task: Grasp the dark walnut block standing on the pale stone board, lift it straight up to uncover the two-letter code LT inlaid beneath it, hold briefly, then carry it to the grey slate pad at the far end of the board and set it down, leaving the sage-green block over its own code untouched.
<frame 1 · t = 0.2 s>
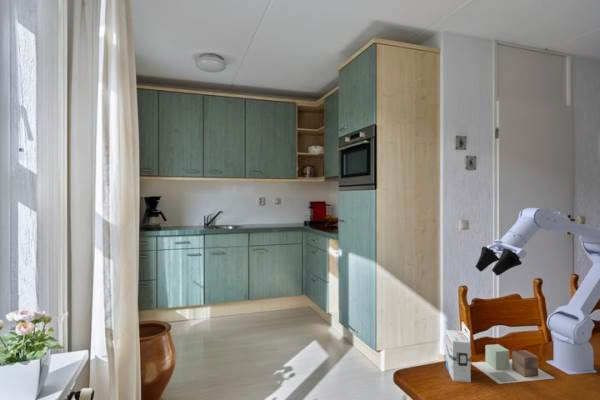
hand: (486, 271, 97), 31 cm above the table, tool tilted 45°, fingers open, 7 cm apart
ink box: (457, 376, 97), on the table
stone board: (510, 371, 99), on the table
sage block: (497, 365, 101), resting on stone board
walnut block: (524, 372, 97), resting on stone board
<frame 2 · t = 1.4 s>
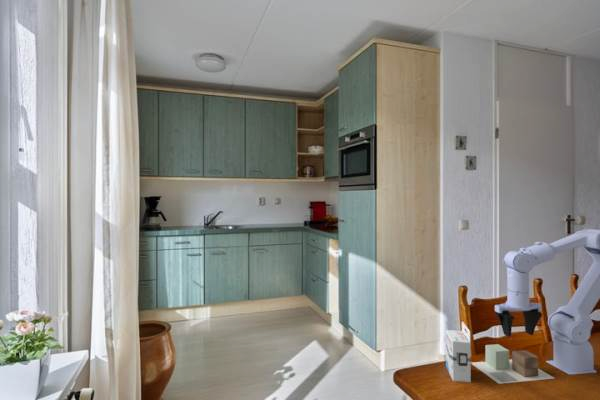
hand: (518, 334, 102), 10 cm above the table, tool pointing down, fingers open, 7 cm apart
nothing on the table moved.
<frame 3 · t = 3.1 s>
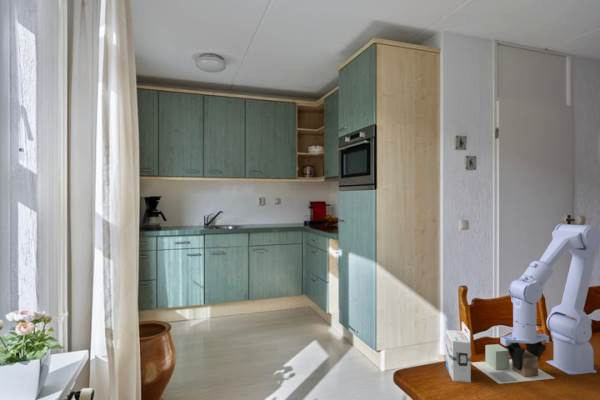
hand: (524, 367, 97), 2 cm above the table, tool pointing down, fingers closed on walnut block, 4 cm apart
walnut block: (524, 372, 97), resting on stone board, touching gripper
everything else where it was.
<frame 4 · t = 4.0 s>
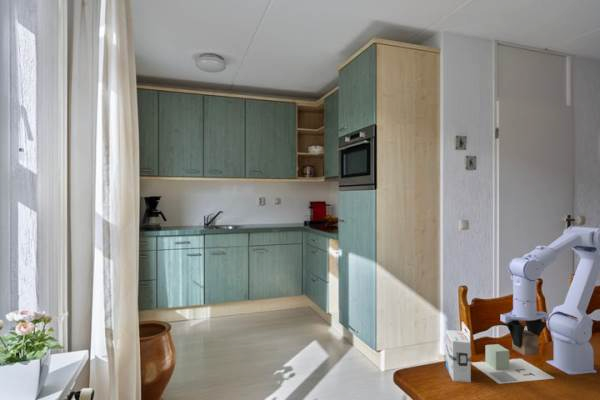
hand: (524, 345, 97), 9 cm above the table, tool pointing down, fingers closed on walnut block, 4 cm apart
walnut block: (524, 351, 97), point 7 cm above the table, touching gripper
everything else where it was.
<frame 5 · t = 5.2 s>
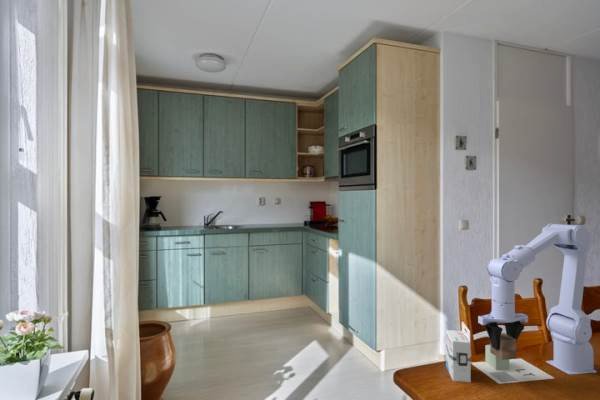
hand: (503, 347, 95), 9 cm above the table, tool pointing down, fingers closed on walnut block, 4 cm apart
walnut block: (502, 355, 95), point 6 cm above the table, touching gripper
everything else where it was.
when the fingers open (3 cm above the table, at t = 6.6 s): walnut block stays where it is, resting on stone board.
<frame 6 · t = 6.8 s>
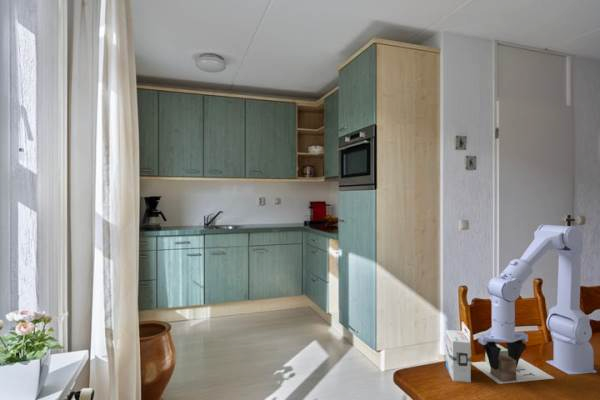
hand: (503, 367, 95), 3 cm above the table, tool pointing down, fingers open, 6 cm apart
walnut block: (503, 376, 95), resting on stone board
everything else where it was.
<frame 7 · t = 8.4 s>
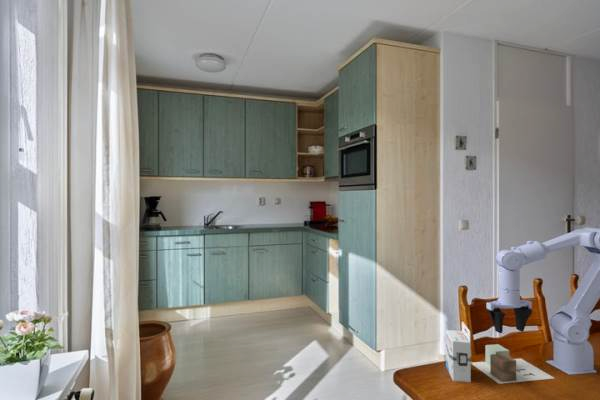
hand: (509, 331, 104), 10 cm above the table, tool pointing down, fingers open, 7 cm apart
nothing on the table moved.
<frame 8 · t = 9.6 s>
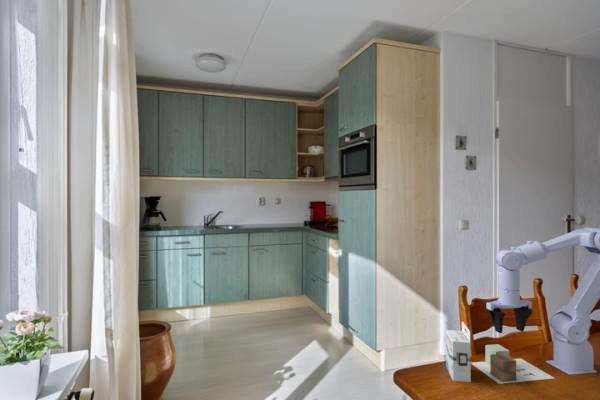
hand: (509, 331, 104), 10 cm above the table, tool pointing down, fingers open, 7 cm apart
nothing on the table moved.
at the end: walnut block 0.1 cm from the target spot, resting on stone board; walnut block tilted 0°; sage block moved 0.0 cm from its start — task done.
